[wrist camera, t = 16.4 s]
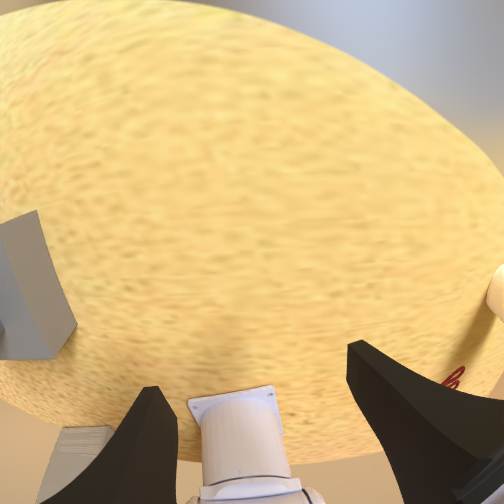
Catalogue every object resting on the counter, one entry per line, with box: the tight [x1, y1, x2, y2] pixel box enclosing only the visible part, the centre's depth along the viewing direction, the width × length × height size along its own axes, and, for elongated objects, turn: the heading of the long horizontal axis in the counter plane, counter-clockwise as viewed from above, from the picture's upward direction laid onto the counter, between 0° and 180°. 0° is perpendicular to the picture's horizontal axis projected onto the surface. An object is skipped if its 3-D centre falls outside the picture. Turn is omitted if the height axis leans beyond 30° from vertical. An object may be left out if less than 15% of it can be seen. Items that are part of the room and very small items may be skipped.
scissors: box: [441, 366, 465, 390], centre depth 29 cm, size 5×14×1 cm, turn 102°
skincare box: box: [36, 426, 115, 504], centre depth 16 cm, size 8×7×16 cm
